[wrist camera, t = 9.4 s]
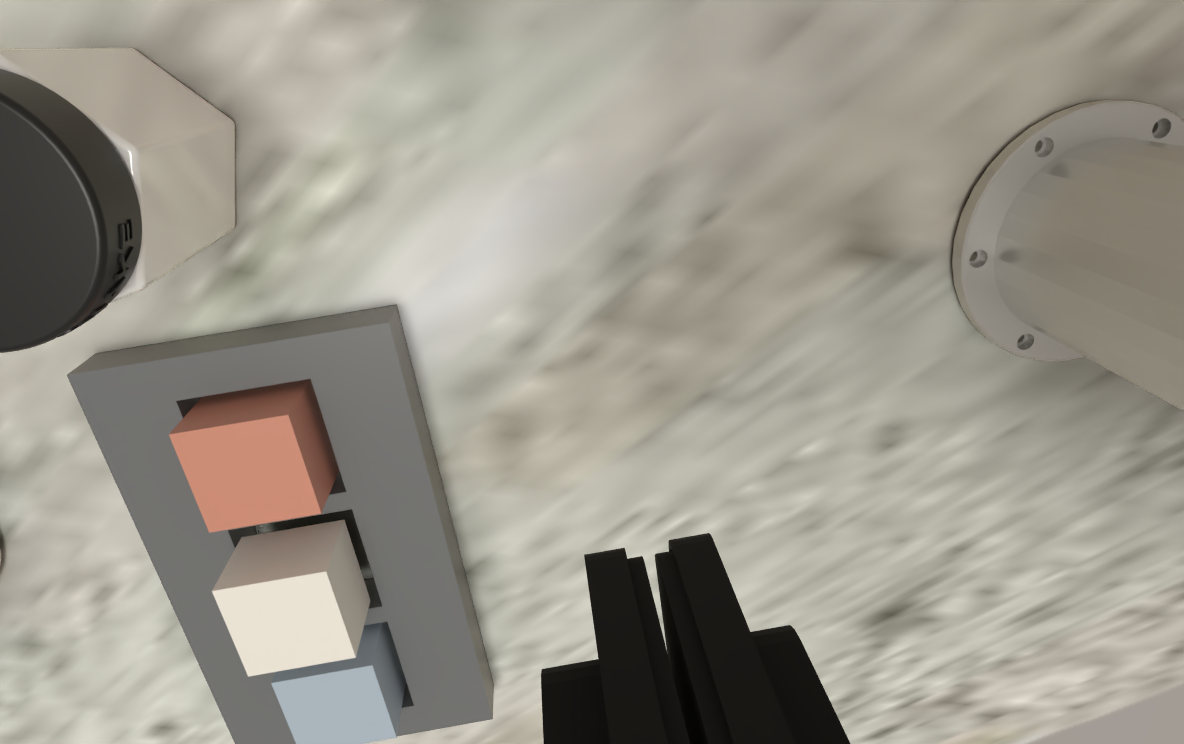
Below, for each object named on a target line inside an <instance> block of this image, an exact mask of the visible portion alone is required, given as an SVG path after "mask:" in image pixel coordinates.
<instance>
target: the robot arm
mask: <svg viewBox="0 0 1184 744" xmlns="http://www.w3.org/2000/svg"><path fill="white" fill-rule="evenodd" d="M971 255H972V256H971ZM952 267H953V278H954V286H955V289H956V292H957V296H958V299H959V302H960V305H961V307H962V309H963V310H964V312H965V314H966V315H967V317H968V319H969V320H970V322H971V323H972V324H973V325H974V326H975V327H976V328H977V329H978V330H979V331H980V332H981V333H982V334H983V335H984V337H986V338H987V339H989V340H991V341H992V342H994V343H995V344H997V345H998V346H1000V347H1001V348H1003V349H1005V350H1007V351H1009V352H1011V353H1013V354H1015V355H1017V356H1020V357H1024V358H1029V359H1033V360H1038V361H1068V360H1074V359H1080V358H1085V357H1086V358H1088V359H1090V360H1092V361H1093V362H1095V363H1097V364H1099V365H1101V366H1102V367H1104V368H1106V369H1108V370H1110V371H1112V372H1113V373H1115V374H1117V375H1119V376H1121V377H1122V378H1124V379H1126V380H1128V381H1130V382H1132V383H1133V384H1135V385H1137V386H1139V387H1141V388H1142V389H1144V390H1146V391H1148V392H1150V393H1152V394H1153V395H1155V396H1157V397H1159V398H1161V399H1162V400H1164V401H1166V402H1168V403H1170V404H1172V405H1173V406H1175V407H1177V408H1179V409H1181V410H1182V411H1184V120H1183V119H1182V118H1180V117H1179V116H1178V115H1177V114H1175V113H1173V112H1171V111H1168V110H1166V109H1164V108H1161V107H1159V106H1157V105H1154V104H1148V103H1142V102H1136V101H1125V100H1101V101H1094V102H1088V103H1082V104H1079V105H1076V106H1073V107H1070V108H1067V109H1065V110H1062V111H1059V112H1056V113H1054V114H1052V115H1051V116H1049V117H1047V118H1045V119H1044V120H1042V121H1040V122H1038V123H1036V124H1035V125H1033V126H1031V127H1030V128H1029V129H1027V130H1026V131H1025V132H1024V133H1022V134H1021V135H1020V136H1018V137H1017V138H1016V139H1015V140H1013V141H1012V142H1011V143H1010V144H1008V146H1007V147H1006V148H1005V149H1004V150H1003V151H1002V152H1001V153H1000V154H999V155H998V156H997V157H996V158H995V160H994V161H993V162H992V163H991V164H990V165H989V166H988V168H987V169H986V171H985V172H984V174H983V175H982V177H981V178H980V180H979V181H978V182H977V184H976V185H975V187H974V188H973V190H972V192H971V194H970V197H969V199H968V201H967V203H966V205H965V207H964V209H963V211H962V214H961V217H960V221H959V224H958V228H957V231H956V235H955V238H954V248H953V258H952ZM584 556H585V564H586V571H587V578H588V586H589V593H590V600H591V607H592V615H593V622H594V629H595V636H596V643H597V651H598V658H599V659H597V660H591V661H586V662H580V663H574V664H569V665H563V666H558V667H552V668H546V669H542V672H541V689H542V712H543V735H544V744H850V742H849V740H848V738H847V736H846V734H845V732H844V729H843V727H842V725H841V723H840V721H839V719H838V717H837V715H836V713H835V711H834V709H833V707H832V704H831V702H830V700H829V698H828V696H827V694H826V692H825V690H824V688H823V686H822V684H821V682H820V680H819V677H818V675H817V673H816V671H815V669H814V667H813V665H812V663H811V661H810V659H809V657H808V655H807V652H806V650H805V648H804V646H803V644H802V642H801V640H800V638H799V636H798V635H797V633H796V631H795V629H794V628H793V627H792V626H790V625H788V626H782V627H777V628H771V629H765V630H760V631H754V632H750V630H749V628H748V625H747V623H746V620H745V618H744V615H743V613H742V610H741V608H740V605H739V603H738V600H737V598H736V595H735V593H734V590H733V588H732V585H731V583H730V580H729V578H728V575H727V573H726V570H725V568H724V566H723V563H722V561H721V558H720V556H719V553H718V551H717V548H716V546H715V543H714V541H713V538H712V536H711V535H710V534H709V533H707V534H702V535H696V536H690V537H684V538H679V539H673V540H669V552H664V553H658V554H655V561H656V569H657V577H658V584H659V592H660V600H661V607H662V615H663V623H664V630H665V638H666V646H667V650H666V647H665V643H664V639H663V635H662V631H661V627H660V623H659V619H658V615H657V611H656V607H655V603H654V599H653V595H652V591H651V587H650V583H649V579H648V575H647V571H646V567H645V563H644V559H643V557H642V556H641V557H635V558H629V559H627V556H626V552H625V548H621V549H615V550H610V551H604V552H598V553H592V554H587V555H584Z"/></svg>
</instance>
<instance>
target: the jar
mask: <svg viewBox="0 0 1184 744" xmlns="http://www.w3.org/2000/svg"><path fill="white" fill-rule="evenodd" d="M234 227H235V124H234V122H233V121H232V120H231V119H230V118H229V117H227V116H226V115H225V114H223V113H222V112H220V111H219V110H218V109H216V108H215V107H214V106H212V105H211V104H209V103H208V102H207V101H205V100H204V99H203V98H201V97H200V96H198V95H197V94H196V93H194V92H193V91H192V90H190V89H189V88H187V87H186V86H185V85H183V84H182V83H181V82H179V81H178V80H176V79H175V78H174V77H172V76H171V75H170V74H168V73H167V72H165V71H164V70H163V69H161V68H160V67H159V66H157V65H156V64H154V63H153V62H152V61H150V60H149V59H148V58H146V57H145V56H143V55H142V54H141V53H139V52H138V51H137V50H135V49H133V48H55V49H0V353H3V352H12V351H19V350H23V349H27V348H31V347H35V346H38V345H41V344H43V343H46V342H48V341H50V340H53V339H55V338H56V337H60V336H63V335H65V334H67V333H69V332H71V331H73V330H74V329H76V328H77V327H79V326H81V325H82V324H84V323H85V322H87V321H88V320H90V319H91V318H93V317H94V316H95V315H96V314H98V313H99V312H100V311H102V310H103V309H104V308H105V307H106V306H107V305H108V303H110V302H113V301H115V300H118V299H121V298H123V297H126V296H128V295H131V294H133V293H136V292H138V291H141V290H143V289H144V288H146V287H147V286H149V285H150V284H152V283H153V282H155V281H156V280H158V279H159V278H161V277H162V276H164V275H165V274H167V273H168V272H170V271H171V270H173V269H174V268H176V267H177V266H179V265H180V264H182V263H183V262H185V261H186V260H188V259H189V258H191V257H192V256H194V255H195V254H197V253H198V252H200V251H201V250H203V249H204V248H206V247H207V246H209V245H210V244H212V243H213V242H215V241H216V240H218V239H219V238H221V237H222V236H224V235H225V234H227V233H228V232H230V231H231V230H233V229H234Z"/></svg>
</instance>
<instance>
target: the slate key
mask: <svg viewBox="0 0 1184 744" xmlns="http://www.w3.org/2000/svg"><path fill="white" fill-rule="evenodd" d="M271 684H272V687H273V689H274V691H275V694H276V696H277V699H278V701H279V704H280V706H281V708H282V711H283V713H284V716H285V718H286V721H287V723H288V725H289V728H290V730H291V733H292V735H293V737H294V740H295V742H296V744H364V743H370V742H375V741H381V740H386V739H392V738H397V733H398V727H399V721H400V715H401V709H402V703H403V697H404V691H405V685H406V679H405V676H404V672H403V669H402V666H401V663H400V660H399V657H398V653H397V650H396V647H395V644H394V641H393V638H392V634H391V631H390V628H389V625H388V622H381V623H376V624H370V625H364V628H363V632H362V636H361V640H360V644H359V647H358V651H357V655H356V658H351V659H345V660H340V661H334V662H328V663H323V664H317V665H311V666H306V667H300V668H294V669H289V670H283V671H277V672H275V674H274V677H273V680H272V682H271Z"/></svg>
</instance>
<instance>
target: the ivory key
mask: <svg viewBox="0 0 1184 744" xmlns="http://www.w3.org/2000/svg"><path fill="white" fill-rule="evenodd" d="M212 593H213V595H214V597H215V600H216V602H217V604H218V607H219V609H220V611H221V614H222V616H223V619H224V621H225V623H226V626H227V628H228V630H229V633H230V635H231V637H232V640H233V642H234V644H235V647H236V649H237V651H238V654H239V656H240V658H241V661H242V663H243V665H244V668H245V670H246V672H247V675H248V677H249V676H255V675H260V674H266V673H272V672H277V671H283V670H289V669H294V668H300V667H306V666H311V665H317V664H323V663H328V662H334V661H340V660H345V659H351V658H356V655H357V651H358V647H359V644H360V640H361V636H362V632H363V628H364V624H365V620H366V616H367V612H368V608H369V604H370V597H369V594H368V591H367V588H366V585H365V582H364V579H363V576H362V573H361V570H360V566H359V563H358V560H357V557H356V554H355V551H354V548H353V545H352V542H351V539H350V535H349V532H348V529H347V526H346V523H345V520H339V521H333V522H327V523H322V524H316V525H310V526H304V527H298V528H292V529H286V530H281V531H275V532H269V533H263V534H257V535H251V536H245V537H241V539H240V541H239V543H238V544H237V546H236V548H235V550H234V552H233V554H232V555H231V557H230V559H229V561H228V563H227V564H226V566H225V568H224V570H223V572H222V574H221V575H220V577H219V579H218V581H217V583H216V585H215V586H214V588H213V590H212Z"/></svg>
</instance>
